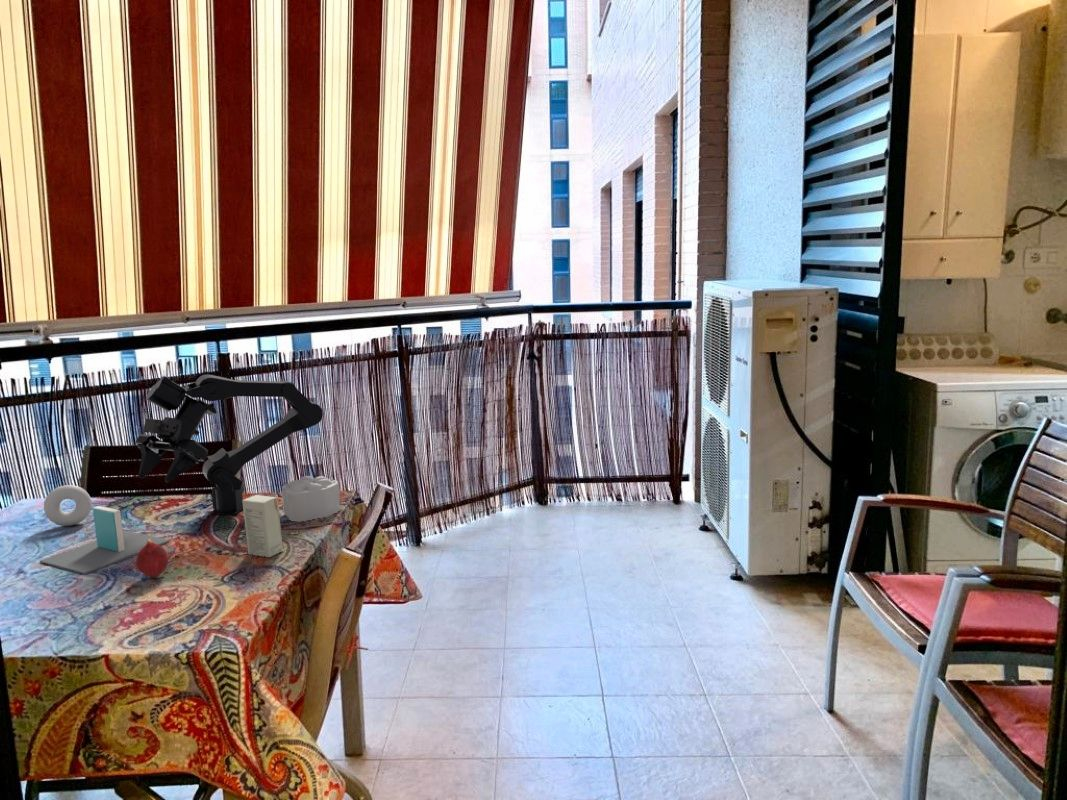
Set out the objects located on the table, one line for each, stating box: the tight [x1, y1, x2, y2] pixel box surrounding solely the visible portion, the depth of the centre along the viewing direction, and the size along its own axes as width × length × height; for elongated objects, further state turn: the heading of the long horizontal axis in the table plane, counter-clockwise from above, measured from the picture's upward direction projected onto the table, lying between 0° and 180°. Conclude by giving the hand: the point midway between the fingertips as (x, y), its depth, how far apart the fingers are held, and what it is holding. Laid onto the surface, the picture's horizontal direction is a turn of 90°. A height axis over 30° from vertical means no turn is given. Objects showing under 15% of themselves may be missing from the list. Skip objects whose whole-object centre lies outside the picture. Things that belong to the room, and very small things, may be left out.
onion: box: [135, 539, 170, 579], centre depth 157 cm, size 6×6×8 cm
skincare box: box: [242, 494, 284, 558], centre depth 169 cm, size 6×4×12 cm
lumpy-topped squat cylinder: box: [281, 475, 341, 522], centre depth 195 cm, size 10×13×9 cm
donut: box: [43, 484, 93, 527], centre depth 189 cm, size 10×4×10 cm, turn 117°
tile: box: [92, 505, 125, 552], centre depth 172 cm, size 2×7×9 cm, turn 63°
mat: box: [39, 530, 170, 575], centre depth 172 cm, size 20×15×1 cm
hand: (153, 479), depth 182 cm, fingers open, 9 cm apart
